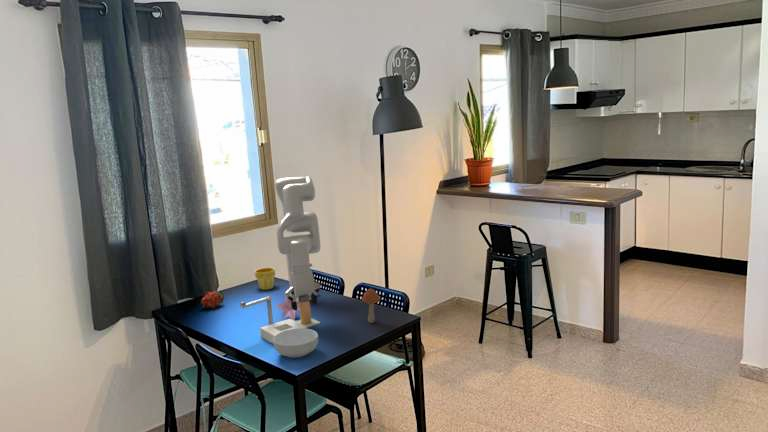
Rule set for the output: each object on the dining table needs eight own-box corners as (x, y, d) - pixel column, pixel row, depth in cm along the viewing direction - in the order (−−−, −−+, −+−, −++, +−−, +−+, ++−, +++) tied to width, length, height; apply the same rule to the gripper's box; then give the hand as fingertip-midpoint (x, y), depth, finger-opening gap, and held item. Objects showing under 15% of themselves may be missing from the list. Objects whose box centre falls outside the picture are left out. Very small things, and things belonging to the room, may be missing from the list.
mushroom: (384, 319, 256) (382, 285, 253) (378, 326, 248) (375, 291, 245) (367, 318, 258) (364, 285, 255) (360, 324, 251) (358, 290, 248)
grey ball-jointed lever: (269, 297, 251) (268, 292, 251) (273, 299, 249) (272, 294, 249) (239, 307, 241) (239, 302, 241) (243, 308, 239) (243, 303, 239)
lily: (276, 317, 270) (270, 303, 264) (295, 301, 276) (291, 287, 270) (291, 330, 263) (286, 316, 257) (312, 314, 268) (307, 300, 262)
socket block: (284, 324, 257) (281, 295, 255) (307, 336, 242) (305, 305, 239) (254, 333, 249) (251, 303, 246) (277, 346, 233) (274, 314, 231)
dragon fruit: (227, 307, 289) (203, 316, 284) (220, 294, 294) (197, 303, 288) (226, 297, 283) (202, 306, 278) (220, 284, 288) (195, 293, 282)
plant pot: (253, 291, 308) (251, 273, 306) (260, 285, 318) (258, 267, 316) (272, 290, 306) (270, 272, 305) (279, 284, 316) (277, 267, 315)
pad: (309, 318, 262) (309, 317, 262) (320, 323, 255) (320, 322, 255) (291, 323, 257) (291, 322, 257) (302, 329, 250) (302, 327, 250)
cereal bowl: (280, 367, 214) (278, 348, 213) (270, 350, 230) (268, 333, 228) (325, 356, 221) (323, 338, 220) (312, 341, 236) (310, 324, 235)
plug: (307, 319, 259) (305, 293, 257) (313, 322, 256) (311, 295, 253) (298, 322, 256) (296, 296, 254) (304, 325, 253) (301, 298, 251)
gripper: (313, 262, 260) (317, 299, 263) (278, 271, 249) (282, 310, 253) (323, 265, 254) (326, 303, 257) (287, 274, 244) (291, 314, 247)
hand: (304, 306), depth 255 cm, fingers open, 9 cm apart
